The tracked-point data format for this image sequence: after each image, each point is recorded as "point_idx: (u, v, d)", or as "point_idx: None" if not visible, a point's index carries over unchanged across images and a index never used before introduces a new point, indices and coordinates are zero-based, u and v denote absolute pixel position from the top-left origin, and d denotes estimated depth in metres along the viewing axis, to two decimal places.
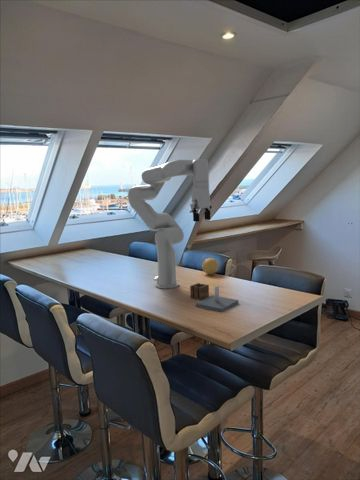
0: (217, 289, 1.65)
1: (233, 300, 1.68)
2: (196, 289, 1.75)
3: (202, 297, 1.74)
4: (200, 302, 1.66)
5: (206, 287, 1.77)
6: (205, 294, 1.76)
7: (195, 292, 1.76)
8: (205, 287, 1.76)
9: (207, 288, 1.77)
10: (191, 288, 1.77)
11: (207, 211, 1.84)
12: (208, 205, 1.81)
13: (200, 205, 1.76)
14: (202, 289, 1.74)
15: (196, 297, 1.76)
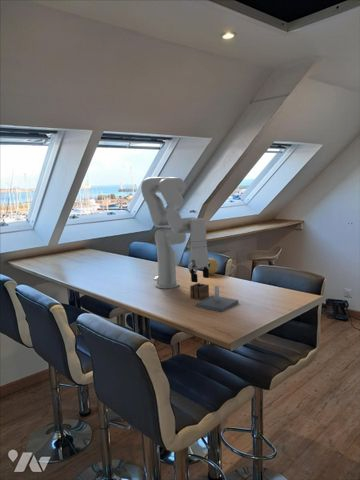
0: (217, 289, 1.65)
1: (233, 300, 1.68)
2: (196, 289, 1.75)
3: (202, 297, 1.74)
4: (200, 302, 1.66)
5: (206, 287, 1.77)
6: (205, 294, 1.76)
7: (195, 292, 1.76)
8: (205, 287, 1.76)
9: (207, 288, 1.77)
10: (191, 288, 1.77)
11: (205, 269, 1.79)
12: (206, 264, 1.77)
13: (198, 266, 1.71)
14: (202, 289, 1.74)
15: (196, 297, 1.76)
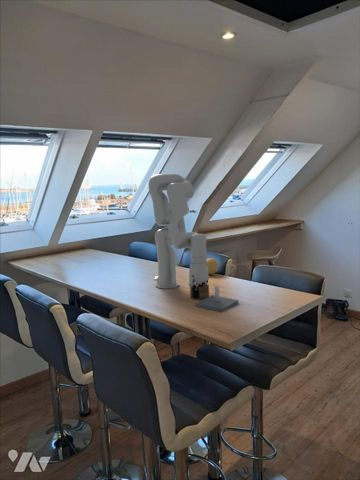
0: (217, 289, 1.65)
1: (233, 300, 1.68)
2: None
3: (202, 297, 1.74)
4: (200, 302, 1.66)
5: (206, 287, 1.77)
6: (205, 294, 1.76)
7: None
8: (205, 287, 1.76)
9: (207, 288, 1.77)
10: None
11: None
12: (206, 279, 1.78)
13: (198, 281, 1.73)
14: (202, 289, 1.74)
15: None
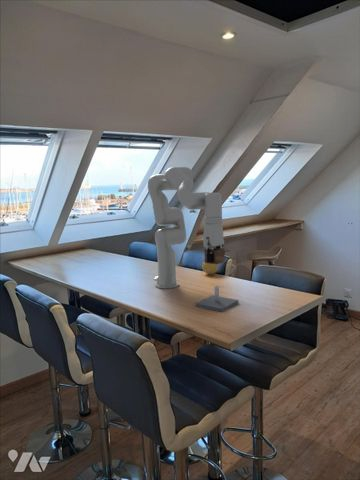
0: (217, 289, 1.65)
1: (233, 300, 1.68)
2: None
3: (217, 261, 1.61)
4: (200, 302, 1.66)
5: (222, 251, 1.63)
6: (221, 258, 1.63)
7: None
8: (221, 250, 1.62)
9: (223, 252, 1.64)
10: None
11: None
12: (221, 242, 1.64)
13: (213, 243, 1.59)
14: (218, 252, 1.61)
15: None
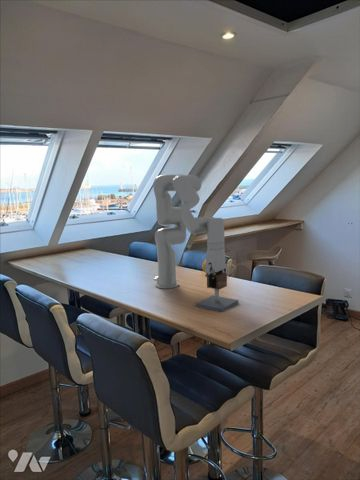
0: (217, 289, 1.65)
1: (233, 300, 1.68)
2: None
3: (219, 287, 1.61)
4: (200, 302, 1.66)
5: (224, 275, 1.64)
6: (223, 283, 1.63)
7: None
8: (223, 275, 1.63)
9: (225, 276, 1.64)
10: None
11: None
12: (223, 267, 1.65)
13: (215, 269, 1.60)
14: (220, 277, 1.61)
15: None
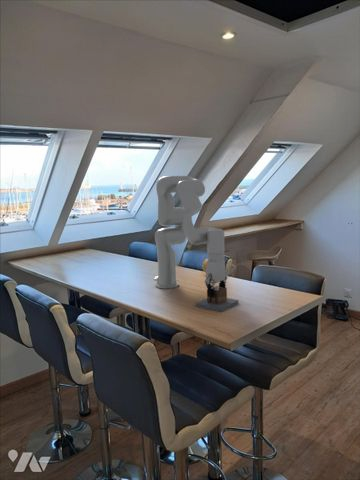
0: (217, 289, 1.65)
1: (233, 300, 1.68)
2: None
3: (219, 302, 1.62)
4: (200, 302, 1.66)
5: (224, 291, 1.65)
6: (223, 298, 1.64)
7: None
8: (223, 291, 1.64)
9: (225, 291, 1.65)
10: None
11: (222, 283, 1.69)
12: (223, 277, 1.66)
13: (215, 280, 1.60)
14: (220, 293, 1.62)
15: (213, 301, 1.64)
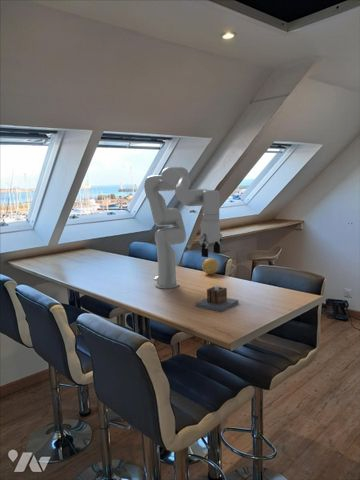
0: (217, 289, 1.65)
1: (233, 300, 1.68)
2: (213, 293, 1.63)
3: (219, 302, 1.62)
4: (200, 302, 1.66)
5: (224, 291, 1.65)
6: (223, 298, 1.64)
7: (212, 296, 1.64)
8: (223, 291, 1.64)
9: (225, 291, 1.65)
10: (208, 292, 1.65)
11: (216, 244, 1.72)
12: (218, 239, 1.69)
13: (209, 240, 1.63)
14: (220, 293, 1.62)
15: (213, 301, 1.64)
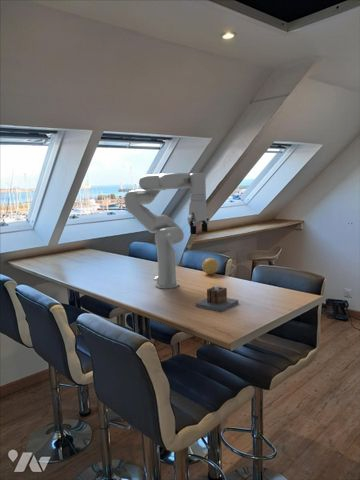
0: (217, 289, 1.65)
1: (233, 300, 1.68)
2: (213, 293, 1.63)
3: (219, 302, 1.62)
4: (200, 302, 1.66)
5: (224, 291, 1.65)
6: (223, 298, 1.64)
7: (212, 296, 1.64)
8: (223, 291, 1.64)
9: (225, 291, 1.65)
10: (208, 292, 1.65)
11: (204, 223, 1.86)
12: (205, 218, 1.83)
13: (197, 218, 1.78)
14: (220, 293, 1.62)
15: (213, 301, 1.64)
